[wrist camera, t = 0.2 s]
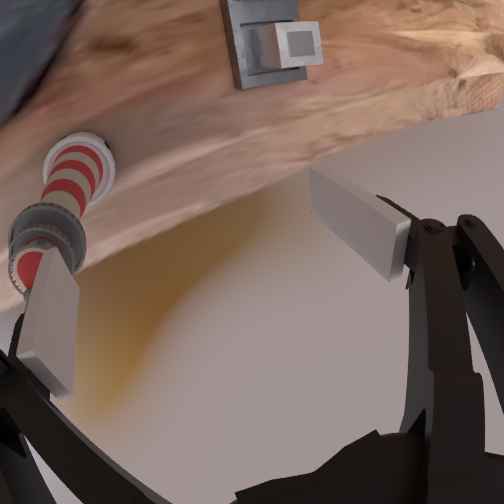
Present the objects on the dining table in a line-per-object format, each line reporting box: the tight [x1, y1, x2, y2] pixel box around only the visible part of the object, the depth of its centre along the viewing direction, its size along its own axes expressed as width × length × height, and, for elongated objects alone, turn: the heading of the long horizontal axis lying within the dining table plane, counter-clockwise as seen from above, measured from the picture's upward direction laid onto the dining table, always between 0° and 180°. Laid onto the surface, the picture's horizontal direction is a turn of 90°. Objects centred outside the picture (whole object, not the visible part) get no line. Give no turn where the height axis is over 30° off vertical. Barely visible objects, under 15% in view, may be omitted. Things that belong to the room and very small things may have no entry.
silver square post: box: [242, 22, 323, 68], centre depth 31 cm, size 5×5×10 cm
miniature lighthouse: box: [8, 132, 116, 312], centre depth 24 cm, size 9×9×30 cm
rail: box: [220, 0, 307, 89], centre depth 32 cm, size 20×9×3 cm, turn 9°
